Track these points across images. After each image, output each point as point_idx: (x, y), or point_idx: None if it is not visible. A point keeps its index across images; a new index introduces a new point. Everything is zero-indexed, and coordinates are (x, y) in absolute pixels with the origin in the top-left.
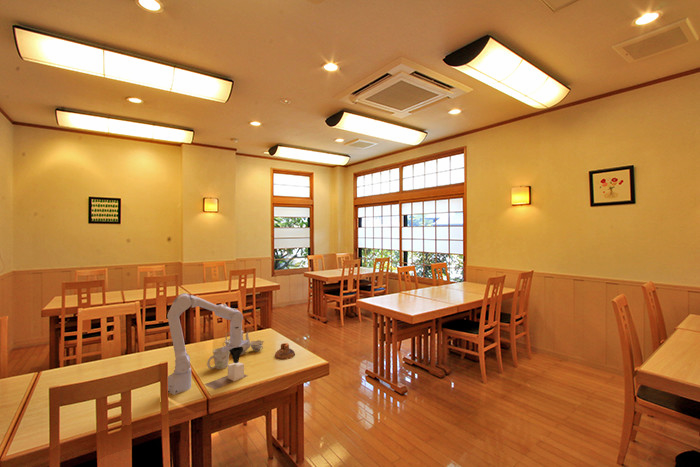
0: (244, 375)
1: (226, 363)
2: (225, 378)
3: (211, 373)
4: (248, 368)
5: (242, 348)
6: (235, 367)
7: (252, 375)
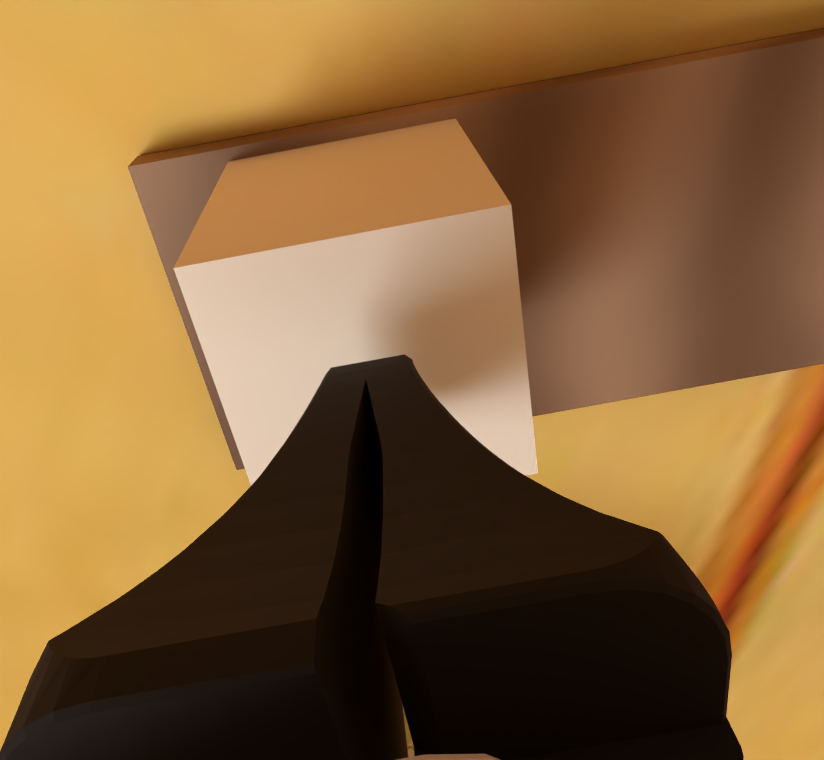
0: (186, 236)
1: None
2: None
3: None
4: (10, 512)
5: (73, 693)
6: (476, 205)
7: (24, 202)
